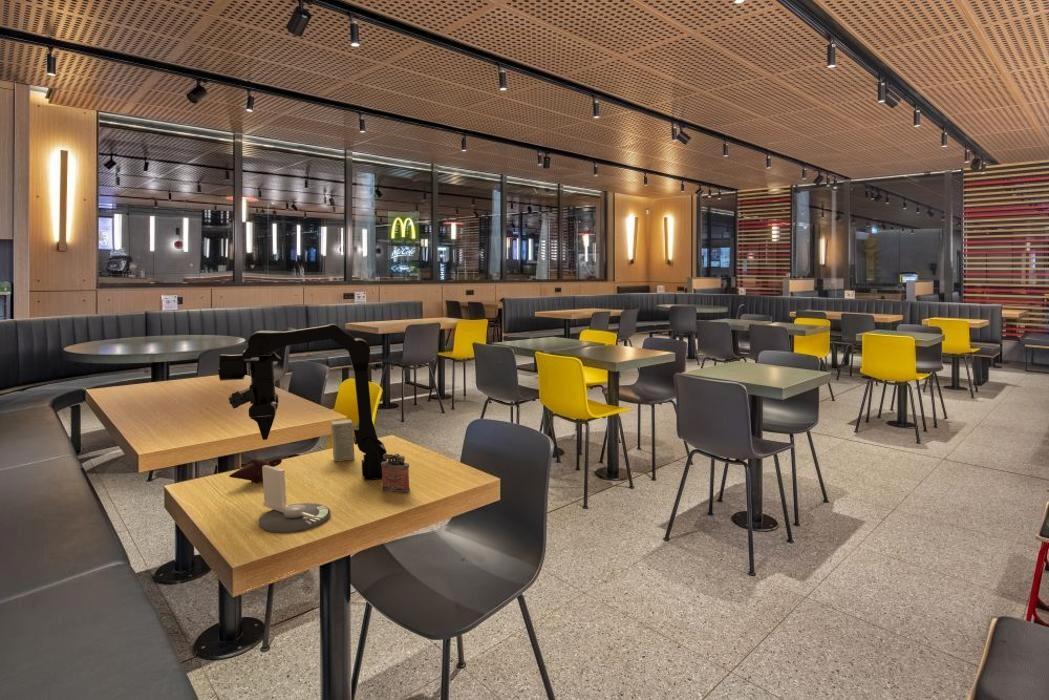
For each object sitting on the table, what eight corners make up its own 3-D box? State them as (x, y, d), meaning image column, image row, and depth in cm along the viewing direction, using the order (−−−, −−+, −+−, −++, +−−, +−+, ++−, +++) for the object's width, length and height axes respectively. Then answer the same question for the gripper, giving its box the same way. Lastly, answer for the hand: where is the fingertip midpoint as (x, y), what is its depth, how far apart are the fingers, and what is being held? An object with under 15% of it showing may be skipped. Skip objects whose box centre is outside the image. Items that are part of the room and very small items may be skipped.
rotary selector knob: (322, 516, 145) (320, 475, 144) (305, 524, 141) (302, 481, 139) (275, 501, 155) (273, 463, 153) (257, 508, 151) (255, 468, 149)
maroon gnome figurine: (238, 470, 164) (289, 461, 176) (224, 458, 168) (275, 450, 180) (234, 493, 165) (285, 483, 177) (221, 481, 169) (271, 471, 181)
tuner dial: (329, 502, 157) (329, 498, 157) (331, 527, 142) (331, 522, 142) (261, 511, 152) (261, 506, 152) (255, 537, 137) (255, 532, 137)
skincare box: (352, 456, 197) (351, 418, 195) (354, 459, 193) (353, 422, 191) (332, 458, 194) (330, 420, 193) (334, 462, 190) (332, 424, 189)
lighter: (412, 490, 166) (411, 453, 164) (406, 494, 163) (404, 457, 161) (386, 486, 168) (385, 451, 167) (379, 491, 165) (378, 454, 164)
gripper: (233, 374, 171) (237, 429, 173) (224, 386, 153) (229, 447, 155) (277, 372, 174) (280, 426, 176) (273, 383, 157) (276, 443, 159)
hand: (266, 435), depth 166 cm, fingers open, 9 cm apart
